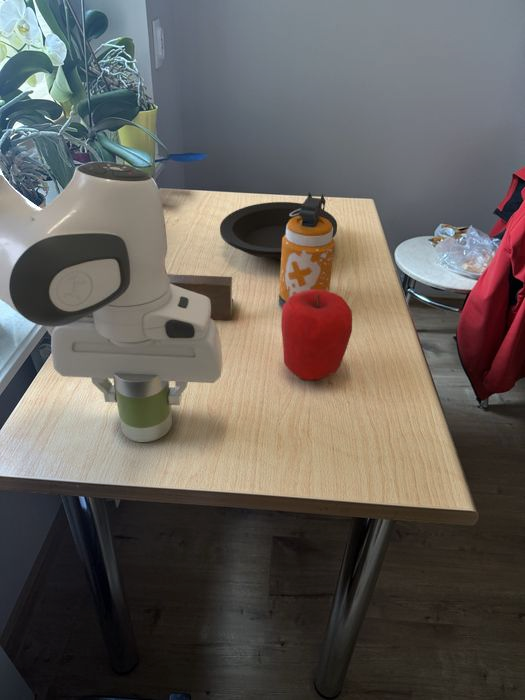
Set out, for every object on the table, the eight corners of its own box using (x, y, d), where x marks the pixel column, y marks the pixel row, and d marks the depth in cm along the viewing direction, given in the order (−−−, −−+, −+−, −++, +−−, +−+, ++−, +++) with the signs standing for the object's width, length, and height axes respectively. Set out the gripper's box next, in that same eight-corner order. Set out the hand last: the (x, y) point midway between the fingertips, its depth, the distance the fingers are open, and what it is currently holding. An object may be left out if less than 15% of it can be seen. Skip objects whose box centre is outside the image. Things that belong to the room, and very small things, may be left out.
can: (129, 449, 67) (120, 388, 61) (115, 416, 72) (104, 357, 66) (179, 432, 70) (175, 372, 64) (162, 402, 74) (156, 343, 69)
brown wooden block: (127, 316, 92) (122, 280, 88) (134, 300, 97) (130, 265, 93) (230, 320, 92) (230, 285, 88) (233, 304, 97) (233, 269, 93)
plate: (295, 289, 102) (297, 263, 98) (195, 257, 112) (194, 232, 108) (353, 240, 121) (357, 216, 118) (264, 216, 131) (265, 194, 128)
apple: (330, 401, 76) (341, 321, 68) (266, 379, 79) (269, 301, 71) (353, 362, 84) (366, 286, 76) (294, 344, 87) (300, 269, 79)
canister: (272, 312, 95) (278, 204, 83) (288, 284, 103) (295, 182, 92) (321, 321, 93) (334, 211, 81) (333, 292, 101) (346, 189, 90)
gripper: (30, 319, 58) (55, 413, 66) (218, 327, 58) (219, 421, 66) (51, 291, 63) (71, 381, 71) (223, 298, 63) (224, 388, 71)
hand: (144, 400), depth 68 cm, fingers closed on can, 7 cm apart
